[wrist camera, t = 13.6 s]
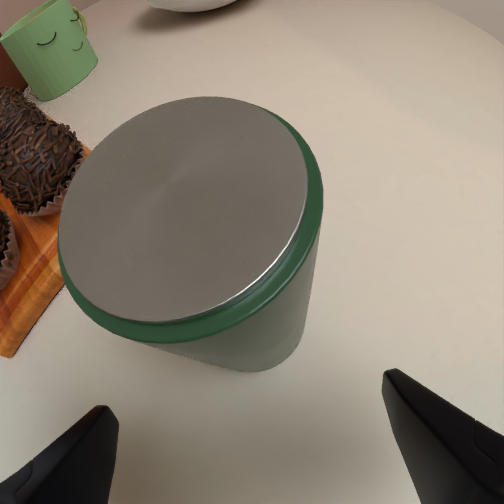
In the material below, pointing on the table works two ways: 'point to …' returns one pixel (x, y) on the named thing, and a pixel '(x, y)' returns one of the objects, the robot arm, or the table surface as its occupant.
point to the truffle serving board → (30, 211)
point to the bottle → (10, 72)
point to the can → (197, 232)
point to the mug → (51, 48)
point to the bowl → (189, 4)
